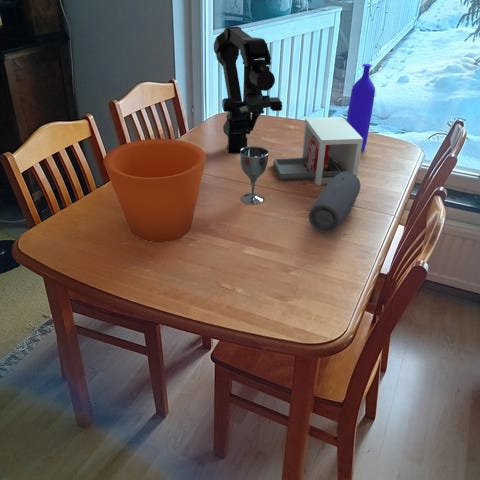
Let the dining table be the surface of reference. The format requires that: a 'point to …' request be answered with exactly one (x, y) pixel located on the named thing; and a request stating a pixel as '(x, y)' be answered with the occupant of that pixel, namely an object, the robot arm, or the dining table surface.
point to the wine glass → (253, 170)
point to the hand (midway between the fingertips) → (251, 130)
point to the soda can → (316, 155)
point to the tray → (301, 169)
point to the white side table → (333, 144)
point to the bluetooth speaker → (334, 202)
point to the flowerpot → (157, 185)
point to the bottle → (361, 105)
